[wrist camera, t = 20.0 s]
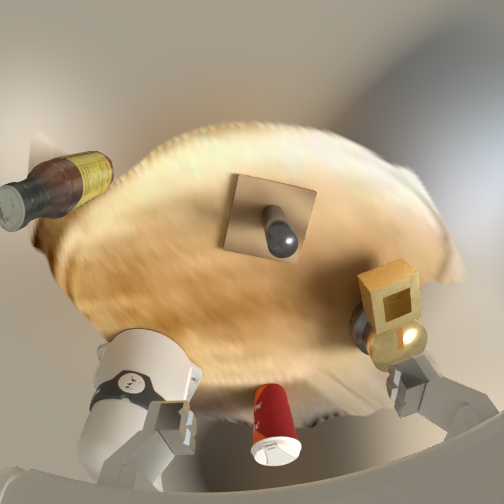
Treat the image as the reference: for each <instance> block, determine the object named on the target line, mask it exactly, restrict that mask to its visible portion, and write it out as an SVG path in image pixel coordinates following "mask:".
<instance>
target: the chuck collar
mask: <svg viewBox="0 0 504 504" xmlns="http://www.w3.org/2000/svg"><path fill="white" fill-rule="evenodd" d="M357 277H358V282H359V287H360V292H361V297H362V303H363V308H364V314H365V317H366V318H367V320H368V322H367V324H366V326H365V328H364V330H363V334H362V340H363V344H364V346H365V348H366V349H367V351H368V353H369V355H370V357H371V359H372V361H373V363H374V365H375V366H376V368H377V369H379V370H380V371H383V372H388V367H389V365H390V364H391V363H394V362H397V361H401V360H404V359H407V358H410V357H413V356H416V355H419V354H422V352H423V350H424V348H425V346H426V343H427V332H426V330H425V328H424V327H423V326H422V325H421V323H420V322H419V321H418V320H417V318H419V317H421V299H420V282H419V273H418V272H417V271H416V270H414V269H413V268H412V267H411V266H410V265H409V264H408V263H407V262H405V261H404V260H403V259H399V260H396V261H394V262H391V263H388V264H386V265H383V266H380V267H378V268H375V269H372V270H370V271H367V272H364V273H361V274H359V275H357Z"/></svg>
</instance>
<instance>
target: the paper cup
mask: <svg viewBox="0 0 504 504" xmlns="http://www.w3.org/2000/svg"><path fill="white" fill-rule="evenodd" d="M300 449H301V444H300V442H299V441H298V439H297V435H296V431H295V427H294V423H293V419H292V415H291V411H290V407H289V403H288V399H287V395H286V392H285V389H284V388H283V387H282V386H280V385H278V384H265V385H262V386H260V387H259V388H258V389H257V390H256V392H255V399H254V433H253V447H252V449H251V453H252V455H253V456H254V458H255V460H256V461H257V462H258V463H260V464H263V465H268V466H278V465H284V464H287V463H290V462H292V461H293V460H295V459H296V458H297V457H298V456H299V452H300Z"/></svg>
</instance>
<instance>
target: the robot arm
mask: <svg viewBox="0 0 504 504" xmlns="http://www.w3.org/2000/svg"><path fill="white" fill-rule="evenodd" d="M97 355H98V358H99V361H100V362H99V365H98V367H97V370H96V372H95V375H94V378H93V383H94V385H95V388H96V392H95V393H94V395H93V397H92V400H91V404H90V414H89V416H88V418H87V421H86V423H85V425H84V428H83V430H82V433H81V435H80V438H79V440H78V443H77V454H78V458H79V461H80V463H81V464H82V467H83V468H84V470H85V471H86V473H87V474H88V475H89V476H90V477H91V478H92V479H93V480H94V481H95V482H96V483H97V484H94V483H89V482H84V481H79V480H74V479H70V478H65V477H62V476H58V475H54V474H50V473H46V472H43V471H39V470H35V469H29V470H25V469H22V468H20V467H17V466H16V467H10V468H7V469H4V470H1V471H0V504H504V410H503V411H502V412H500V413H499V412H498V410H497V409H496V407H495V406H494V404H493V403H492V402H491V400H490V399H489V398H488V396H487V395H486V394H484V393H481V392H479V391H477V390H474V389H472V388H469V387H467V386H464V385H462V384H460V383H457V382H455V381H452V380H450V379H448V378H445V377H440V376H439V375H438V373H437V372H436V370H435V369H434V368H433V366H432V365H431V363H430V362H429V360H428V359H427V358H426V356H425V355H424V354H419V355H416V356H413V357H410V358H407V359H404V360H401V361H397V362H394V363H391V364H390V365H389V367H388V372H389V374H390V375H389V377H388V378H387V383H386V385H387V391H388V395H389V397H390V399H391V400H393V401H395V406H394V407H395V409H396V411H397V413H398V415H399V417H400V418H402V417H405V416H408V415H411V414H414V413H416V412H418V413H419V414H421V415H422V416H424V417H425V418H426V419H428V420H430V421H431V422H433V423H434V424H436V425H437V426H439V427H440V428H442V429H444V430H445V431H447V432H448V434H447V435H446V438H445V439H444V442H441V443H439V444H437V445H435V446H432V447H430V448H427V449H425V450H422V451H420V452H417V453H415V454H412V455H409V456H407V457H404V458H401V459H398V460H395V461H392V462H389V463H386V464H383V465H380V466H377V467H373V468H370V469H367V470H363V471H359V472H355V473H352V474H348V475H344V476H339V477H336V478H331V479H326V480H322V481H316V482H311V483H305V484H300V485H293V486H287V487H279V488H272V489H263V490H253V491H241V492H220V493H178V492H177V493H176V492H163V489H162V483H161V473H162V472H163V470H164V469H165V468H166V467H167V465H168V464H169V463H170V462H171V460H172V459H173V458H174V455H190V454H194V451H195V440H194V438H193V437H194V435H195V434H196V433H197V422H196V418H195V415H194V413H193V412H191V411H190V410H189V409H190V405H189V402H190V400H191V398H192V396H193V394H194V392H195V390H196V388H197V386H198V384H199V382H200V380H201V378H202V375H203V371H202V370H201V369H200V368H199V367H198V366H197V365H195V364H194V363H192V362H191V361H190V360H189V359H188V357H187V356H186V354H185V353H184V351H183V350H182V349H181V348H180V347H179V346H178V345H177V344H176V343H175V342H174V341H172V340H171V339H169V338H168V337H166V336H164V335H162V334H160V333H157V332H154V331H150V330H145V329H131V330H127V331H124V332H122V333H120V334H118V335H117V336H116V337H115V338H114V339H113V340H112V341H111V342H109V343H107V344H103V345H101V346H99V347H98V350H97Z"/></svg>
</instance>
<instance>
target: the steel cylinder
mask: <svg viewBox="0 0 504 504" xmlns="http://www.w3.org/2000/svg"><path fill="white" fill-rule="evenodd" d="M261 220H262V224H263V229H264V233H265V237H266V241H267V246H268V249H269V251H270V253H271V254H272V255H273V256H275V257H277V258H288V257H290V256H292V255H293V254H294V253H295V252H296V250H297V248H298V238H297V236H296V234H295V232H294V230H293V229H292V227H291V225H290V223H289V221H288V219H287V217H286V215H285V213H284V211H283V210H282V208H281V207H279V206H277V205H269V206H267V207H265V208H264V209H263V211H262V213H261Z"/></svg>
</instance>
